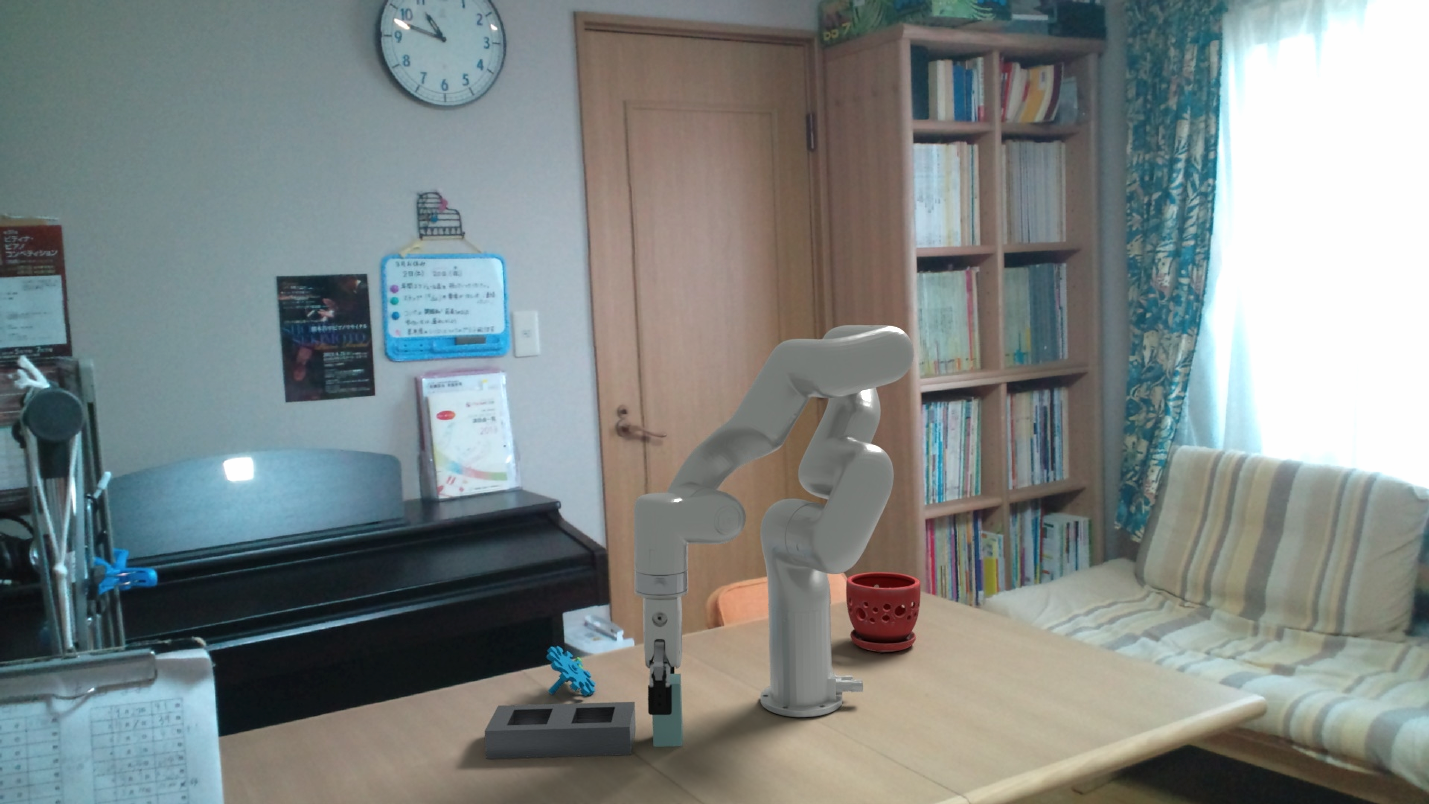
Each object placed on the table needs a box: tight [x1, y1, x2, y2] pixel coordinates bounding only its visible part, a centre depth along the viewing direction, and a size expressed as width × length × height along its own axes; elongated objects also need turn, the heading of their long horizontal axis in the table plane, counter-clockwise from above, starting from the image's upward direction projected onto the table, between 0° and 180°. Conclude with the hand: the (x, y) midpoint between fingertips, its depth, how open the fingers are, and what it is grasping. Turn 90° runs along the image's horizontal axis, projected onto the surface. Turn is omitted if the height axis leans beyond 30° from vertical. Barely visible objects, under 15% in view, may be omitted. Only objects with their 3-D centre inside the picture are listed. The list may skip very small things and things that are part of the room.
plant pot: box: [845, 571, 922, 654], centre depth 184 cm, size 13×13×12 cm
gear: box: [546, 645, 596, 697], centre depth 166 cm, size 11×6×10 cm
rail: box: [484, 701, 637, 760], centre depth 146 cm, size 20×9×4 cm, turn 90°
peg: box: [651, 673, 684, 748], centre depth 146 cm, size 4×4×9 cm
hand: (661, 701), depth 146 cm, fingers open, 9 cm apart
